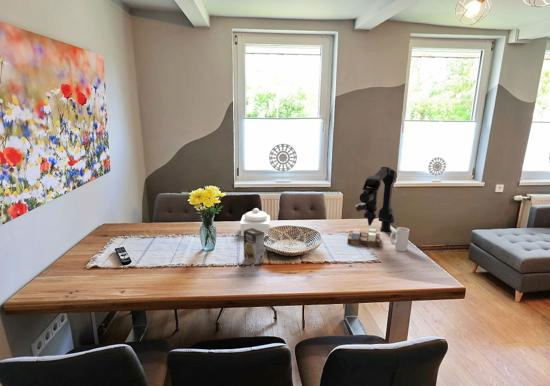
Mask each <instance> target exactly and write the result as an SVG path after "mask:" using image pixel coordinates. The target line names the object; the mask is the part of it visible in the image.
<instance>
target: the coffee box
mask: <svg viewBox="0 0 550 386" xmlns="http://www.w3.org/2000/svg"><path fill="white" fill-rule="evenodd" d="M264 249H265V237H264V232H262V231H259V230H256V229H254V228H251V229H247V230H244V237H243V259H244V260H245V261H247V262H249V263H252V264H254V265H257V264H259V263H262V262H264V261H265V250H264Z"/></svg>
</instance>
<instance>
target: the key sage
mask: <svg viewBox="0 0 550 386" xmlns="http://www.w3.org/2000/svg"><path fill="white" fill-rule="evenodd" d="M376 231H377V229H376V228H368V233H376V234H377V232H376ZM368 235H369V234H368Z"/></svg>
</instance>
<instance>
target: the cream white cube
mask: <svg viewBox="0 0 550 386" xmlns="http://www.w3.org/2000/svg"><path fill="white" fill-rule="evenodd" d="M368 233H369V232H368ZM376 234H377V232H376V233H369V235H368V241H374V242H375V239H376Z"/></svg>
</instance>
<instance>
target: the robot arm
mask: <svg viewBox="0 0 550 386" xmlns="http://www.w3.org/2000/svg"><path fill="white" fill-rule="evenodd" d="M397 178H398V174H397V172H396V171H395V170H394V169H392V168H391V167H389V166H381V167H380V169H379V170H378V171H377V172H376V173H375V174H373V175H370V176H367V178H366V179H365V182H364V184H363V188H362V190H363V192H362V193H360V194H359V201H360V203H358V204H355V209H356V212H360V211H365V212H364V215H363V218H365V219H367V224H368V225H367V226H369V227H371V226H372V224H373V222H374V221H375V219H377V218H376V217H377V216H378V222H381V226H380V228H379V230H380V232H384V233H392V230H391V229H392V227H391V225H392V224H394V223H395V217H394V213H393V209H392V207H391V206H392V197H393V196H392V194H393V185H394V184H395V182H396V181H397ZM382 183H383V184H384V185H383V187H384V188H383V198H382V199H383V201H382V207H381V208H380V209H379V212H378V215H377V213H376V212H377V199H378V192H379V189H380V187H381V185H382Z"/></svg>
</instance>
